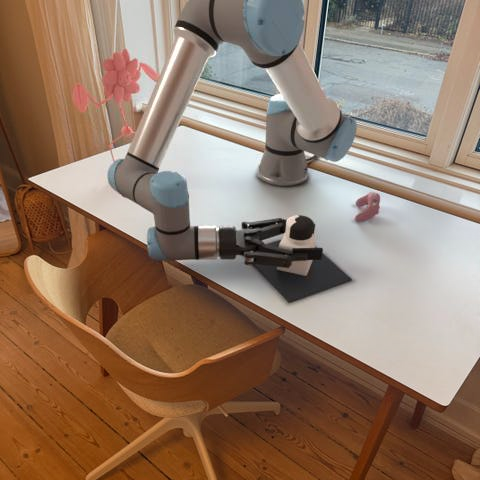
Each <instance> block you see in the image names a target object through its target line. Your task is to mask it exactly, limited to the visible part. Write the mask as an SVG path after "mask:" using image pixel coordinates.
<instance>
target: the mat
mask: <svg viewBox="0 0 480 480" xmlns="http://www.w3.org/2000/svg"><path fill="white" fill-rule="evenodd" d="M281 240H282V239H278V240H275V241H272V242H268V243H266V244H267V245H271V246H275V247H279V244H280V242H281ZM315 248H317V247H316V246H315ZM253 266H254V267H255V268H256V269H257V270H258V271H259V272H260V273H261V274H262V276H263V277H265V279H266V280H267V281H268V282H269V283H270V284H271V285H272V287H273V288H274V289H275V290H276V291H277V292H278V293H279V294H280V295H281V297H283V299H285V300H286V302H287V303H289V304H290V303H293V302H296V301H298V300H301V299H305V298H307V297H309V296H312V295H316V294H318V293H321V292H324V291H326V290H330V289H333V288H335V287H338V286H340V285H343V284H346V283H349V282H351V281H353V278H351V277H350V276H349V275H348V274H347V273H346V272H345V271H343V270H342V269H341V268H340V267H339V265H337V264H336V263H334V261H332V260H331V259H330V258H329V257H328V256H327V255H326V254H325V253H324V252H323V253H322V259H321V260H313V261H312V263H311V266H310V269H309V271H308V274H307V276H303V275H299V274H294V273H290V272H285V271H281V270H277V267H275V266H266V265H258V264H253Z"/></svg>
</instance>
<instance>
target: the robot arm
mask: <svg viewBox="0 0 480 480" xmlns="http://www.w3.org/2000/svg"><path fill="white" fill-rule="evenodd" d="M304 16H305V7H304V2H303V0H187V1H186V3H185V4H184V6H183V8H182V10H181V12H180V14H179V16H178V18H177V21H176V23H175V25H174V27H173V34H174V37H175V39H174V41H173V43H172V46H171V48H170V50H169V53H168V55H167V57H166V60H165V62H164V65H163V67H162V69H161V72H160V74H159V78H158V81H157V82H155V83H156V84H155V85H154V87H153V90H152V93H151V96H150V98H149V100H148V102H147V105H146V107H145V110H144V111H143V114H142V116H141V119H140V122H139V124H138V126H137V127H136V131H135V132H136V133H135V134H134V135H133V138H132V140H131V142H130V145H129V147H128V150H127V153H126V154H125V157H124V158H118V159H115V160H114V161H115V162H113V163H111V164H110V166H109V167H108V170H107V176H106V178H107V182H108V185H109V186H110V187H111V189H113V190H114V191H115V192H117V193H118V194H119V195H121V197H122V198H124V199H128V200H130V202H133V203H134V204H136V205H138V206H140V207H141V208H143V209H144V210H146V211H148V212H150V213H151V214H152V215H153V218H154V219H153V220H154V221H153V222H154V226H150V227H149V228H148V229H147V233H146V243H147V253H148V256H149V258H150V259H151V260H153V261H165V262H166V261H167V262H172V261H173V262H174V261H176V262H177V261H193V260H195V261H201V260H204V261H205V260H206V261H207V260H208V261H210V260H211V261H212V260H213V261H214V260H217V259H218V258H219V259H220V260H223V261H225V260H227V261H228V260H235V259H236V258H237V256H241V257H243V258H244V265H245V266H250V265H252V266H253V265H254V264H258V265H266V266H275V267H283V268H289V267H290V266H291V265H292V261H306V260H321V259H322V253H323V254H324V248H323V247H316V248H293V249H292V251H290V250H286V249H282V248H279V247H275V246H271V245H267V244H268V243H265V242H264V241H265V240H268V239H271V238H274V237H278V236H280V235H284V234H285V232H286V222H287V220H288V219H284V218H281V217H277V218H269V219H263V220H255V221H241V229H237V228H236V226H235V225H220V226H218V227H217V226H216V225H191V217H190V216H191V215H190V193H189V190H188V189H189V188H188V181H187V178H186V177H185V176H184V174H182V173H180V172H178V171H172V170H164V171H159V170H160V167H161V165H162V163H163V161H164V158H165V156H166V154H167V152H168V150H169V147H170V145H171V143H172V141H173V138H174V136H175V134H176V132H177V129H178V127H179V125H180V123H181V121H182V118H183V116H184V114H185V111H186V110H187V107H188V105H189V103H190V100H191V98H192V96H193V94H194V92H195V90H196V87H197V85H198V82H199V80H200V78H201V76H202V74H203V71H204V70H205V68H206V65H207V63H208V60H209V59H211V58H214V57H215V56H216V54H217V52H218V50H219V48H220V46H221V45H222V44H223V43H227V44H231V45H234V46H238V47H240V48H241V49H242V50H243V52H244V53H245V54H246V56H247V57H248V59H249V60H250V62H251V64H253V66H255V68H258V69H261V70H265V71H266V73H267V74H268V75H269V76H268V77H270V79H271V81H272V83H274V86H275V87H276V88H277V90H278V91H279V94H276V95H274V96H271V97H270V98H269V100H268V102H267V108H266V113H265V115H266V118H265V119H266V120H265V145H264V148H265V149H264V152H263V153H262V157H261V160H260V162H259V163H258V165H257V176H258V178H259V179H260V181H263V182H264V183H266V184H268V185H271V186H272V185H273V186H277V187H294V186H298V185H300V184H303V183H304V182H305V181H307V179H308V175H309V168H308V163H307V162H310V161H313V160H315V159H316V158H317V157H319V158H322V159H324V160H325V161H330V162H333V163H337V162H339V161H341V160H342V159H344V157H345V156H346V155H347V154H348V152H349V151H350V149H351V147H352V146H353V143H354V141H355V139H356V138H355V137H356V135H357V128H358V124H357V121H356V119H355V118H353V117H352V116H350V115H344V113H343V112H342V111H341V108H340V106H339V105H338V103H337V102H336V101H335V100H334V99H332V98H329V97H328V96H327V95H326V93H325V91H324V89H323V87H322V85H321V82H320V81H319V79H318V77H317V75H316V73H315V70H314V69H313V67H312V65H311V63H310V60H309V59H308V57H307V55H306V52H305V50H304V48H303V47H302V45H301V43H300V42H301V40H302V35H303V32H304V28H305V19H303V17H304ZM305 152H306V153H309V154H311V155H313V156H310V157H308V158H306V153H305ZM315 229H316V223H314V229H313V234H315V231H316V230H315ZM284 262H285V263H284Z"/></svg>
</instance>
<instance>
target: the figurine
mask: <svg viewBox="0 0 480 480" xmlns="http://www.w3.org/2000/svg"><path fill="white" fill-rule="evenodd" d="M102 67H103V69H104V70H105V73H104V75H103V76H102V78H101V82H102V84H103V85H104V87H103V95H104V97H105V99H103V100H102V101H101V102H98V101H96V100H95V98H93V97H92V96H91V95H90V94H89V92H87V89H85V87H84V86H83V85H81V83H80V82H76V85H75V86H73V88H72V92H71V98H72V101H73V104H74V106H75V107H76V109H77V110H78V111H79V112H80V113H81V114H83V113H84V112H85V111H86V109H87V107H88V105H89V99H90V100H91V101H92V102H93V103H94V104H95V105H96V106H97V107H100V106H101V105H103V104H105V103H107V102H109V100H111V99H112V98H113V99H114V102H115V104H116V105H118V109H119V112H120V115H121V117H122V120H123V122H124V125H123V126H122V128H121V135H120V136H119V137H117V138H115V139H114V140H112V141H111V142H110V143H109V144H108V147H109V151H110V155H111V159H112V162H113V163H114V162H115V161H116V160H115V158H114V154H113V150H112V147H111V146H112V145H113V144H114V143H115V142H117V141H118V140H119V139H121V138H122V137H123V136H124V137H130V136H131V135H132V134H134V135H135V133H136V131H133V130H132V128H131V127H130V126H129V125H128V124H127V121H126V120H127V119H126V118H125V115H124V111H123V108H122V105H121V104H122V102H123V101H125V102H126V103H129V102H130V101H131V99H132V95H135V94H138V93H139V92H140V89H141V87H140V84H139V83H137V81H139V79H140V78H141V69H142V71H144V73H145V74H146V75H147V76H148V77H149V78H150V79H151V80H152V81H153V82H154V83H157V81H158V78H159V76H160V74H158V73H157V72H156V70H155V69H154V68H153V67H152V66H150V65H148V64H147V63H146V62H145V63H144V62H141V61H140V62H139V60H138V58H136V57H135V58H132V59H131V55H130V53H129V51H128V49H127V48H124V49H122V51H121V53H119V52H117V51H116V52H113V54H112V58H105V59H103V61H102ZM94 188H96V190H97V187H96V186H94Z"/></svg>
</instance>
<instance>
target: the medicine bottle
mask: <svg viewBox="0 0 480 480" xmlns="http://www.w3.org/2000/svg"><path fill="white" fill-rule="evenodd" d="M286 220H287V221H286V232H285V233H284V234H283V236H282V238H281V239H280V240H281V242H280V244H279V248H282V249H286V250H290V251H292V249H293V248H315V247H316V244H317V238H318V235H317V234H316V233H314V234H313V229H314V224H315V222H314V220H313V219H312V218H310V217H309V216H306V215H300V214H298V215H297V214H296V215H292V216H290V217H289V218H287V219H286ZM312 261H313V260H306V261H292V265H291V266H290V267H289V268H283V267H277V270H281V271H285V272H290V273H294V274H299V275H303V276H307V274H308V271H309V269H310V266H311V263H312ZM284 263H285V262H284Z"/></svg>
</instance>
